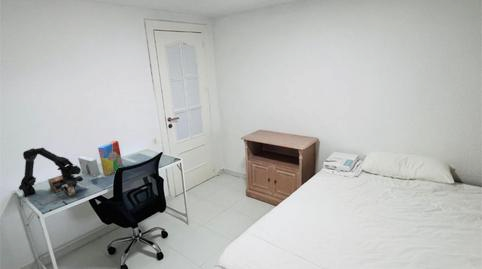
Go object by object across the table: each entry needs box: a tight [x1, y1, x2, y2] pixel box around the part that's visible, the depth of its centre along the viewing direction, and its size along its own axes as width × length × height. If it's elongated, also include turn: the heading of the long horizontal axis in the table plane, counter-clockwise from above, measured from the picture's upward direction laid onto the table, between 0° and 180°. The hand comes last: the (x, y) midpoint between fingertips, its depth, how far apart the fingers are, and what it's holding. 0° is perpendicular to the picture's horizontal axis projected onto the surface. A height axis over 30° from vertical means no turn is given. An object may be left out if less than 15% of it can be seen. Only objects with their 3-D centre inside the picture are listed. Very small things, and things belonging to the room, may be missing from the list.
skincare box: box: [77, 155, 101, 177], centre depth 230 cm, size 21×5×16 cm, turn 62°
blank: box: [62, 184, 76, 196], centre depth 199 cm, size 4×14×6 cm, turn 51°
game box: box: [97, 140, 124, 176], centre depth 233 cm, size 21×6×27 cm, turn 168°
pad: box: [39, 192, 68, 206], centre depth 189 cm, size 16×7×1 cm, turn 141°
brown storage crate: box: [47, 174, 76, 194], centre depth 206 cm, size 16×9×9 cm, turn 141°
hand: (71, 192), depth 197 cm, fingers closed on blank, 4 cm apart
